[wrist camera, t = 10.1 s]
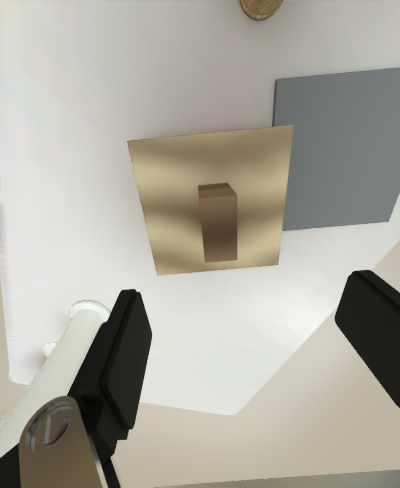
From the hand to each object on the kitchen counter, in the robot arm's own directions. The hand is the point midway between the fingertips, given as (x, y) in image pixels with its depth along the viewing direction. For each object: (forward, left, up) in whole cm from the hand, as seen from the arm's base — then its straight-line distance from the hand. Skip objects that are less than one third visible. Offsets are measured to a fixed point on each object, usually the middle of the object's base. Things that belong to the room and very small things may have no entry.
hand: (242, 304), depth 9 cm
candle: (+20, -23, -21) cm, 37 cm away
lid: (0, 0, -15) cm, 15 cm away
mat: (-3, +17, -21) cm, 27 cm away
